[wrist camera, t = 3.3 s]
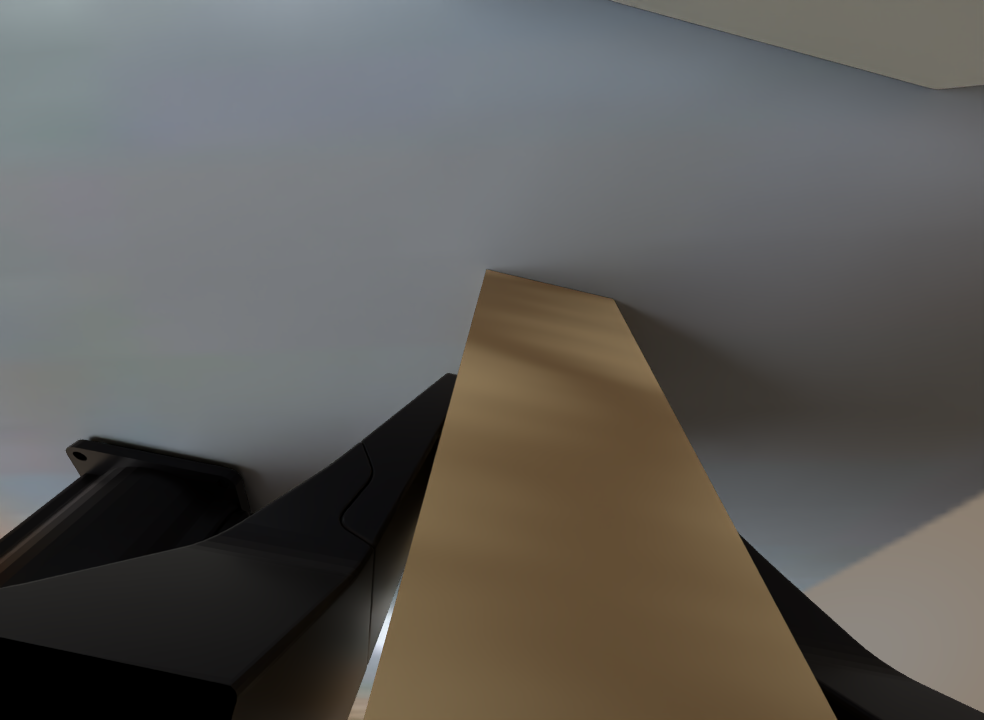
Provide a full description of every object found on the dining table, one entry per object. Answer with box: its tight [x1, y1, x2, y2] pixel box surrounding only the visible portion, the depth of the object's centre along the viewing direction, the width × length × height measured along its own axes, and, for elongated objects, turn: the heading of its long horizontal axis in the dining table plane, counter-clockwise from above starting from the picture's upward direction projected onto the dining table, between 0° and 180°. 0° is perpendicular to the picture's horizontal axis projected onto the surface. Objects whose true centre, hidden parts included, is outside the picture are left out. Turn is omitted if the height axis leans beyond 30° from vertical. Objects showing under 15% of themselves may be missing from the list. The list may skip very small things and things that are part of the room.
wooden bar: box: [364, 270, 837, 720], centre depth 7 cm, size 4×5×9 cm
